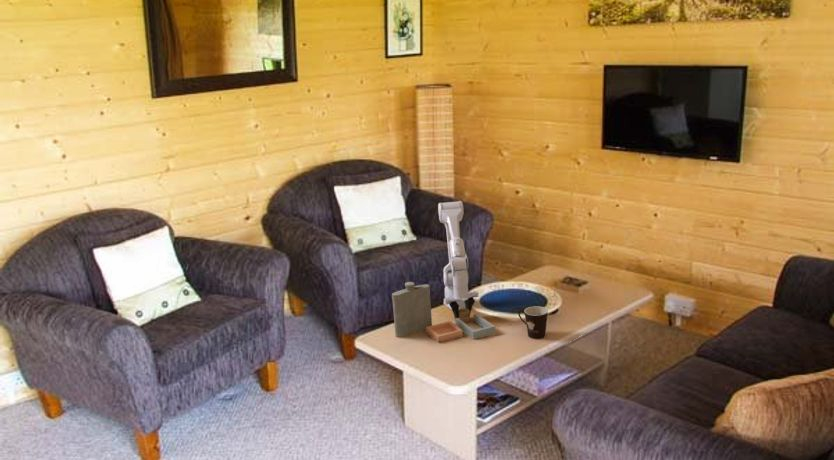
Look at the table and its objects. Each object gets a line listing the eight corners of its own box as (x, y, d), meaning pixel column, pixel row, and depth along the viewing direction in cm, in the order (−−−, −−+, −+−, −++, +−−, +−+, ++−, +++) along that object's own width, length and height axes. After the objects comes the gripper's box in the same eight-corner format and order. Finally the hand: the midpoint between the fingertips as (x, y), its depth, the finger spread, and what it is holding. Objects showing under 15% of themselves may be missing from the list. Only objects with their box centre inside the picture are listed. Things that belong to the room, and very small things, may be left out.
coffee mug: (552, 337, 285) (552, 312, 282) (532, 342, 282) (531, 317, 279) (536, 325, 296) (536, 301, 293) (516, 330, 293) (516, 306, 290)
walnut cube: (454, 319, 307) (454, 309, 305) (464, 317, 308) (464, 306, 307) (460, 323, 303) (459, 313, 301) (470, 321, 304) (469, 310, 303)
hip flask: (397, 338, 294) (393, 289, 288) (393, 334, 297) (388, 286, 291) (433, 327, 301) (430, 279, 295) (428, 324, 304) (425, 277, 298)
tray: (426, 332, 296) (426, 327, 296) (450, 326, 300) (450, 320, 300) (438, 342, 287) (437, 336, 287) (462, 336, 291) (462, 330, 291)
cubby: (455, 325, 301) (455, 318, 300) (476, 320, 305) (476, 313, 304) (473, 339, 288) (473, 332, 287) (495, 333, 292) (494, 326, 291)
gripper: (448, 292, 295) (450, 324, 299) (481, 284, 300) (483, 316, 304) (440, 286, 301) (442, 318, 305) (473, 279, 306) (474, 310, 310)
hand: (462, 317), depth 305 cm, fingers closed on walnut cube, 4 cm apart
